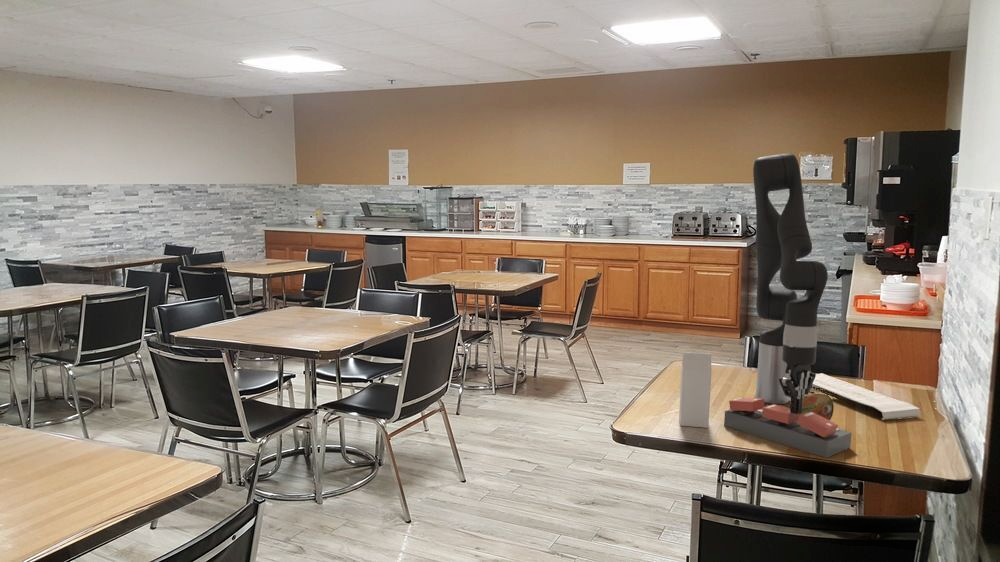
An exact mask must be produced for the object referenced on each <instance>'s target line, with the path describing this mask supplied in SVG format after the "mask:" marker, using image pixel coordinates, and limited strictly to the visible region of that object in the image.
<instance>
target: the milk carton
mask: <svg viewBox="0 0 1000 562" xmlns="http://www.w3.org/2000/svg"><path fill="white" fill-rule="evenodd" d="M682 355H683V356H682V361H681V362H682V363H681V376H680V393H679V394H680V395H679V412H678V413H679V414H678V419H679V425H680V426H682V427H692V428H693V427H694V428H706V429H707V428H709V421H710V404H711V388H712V386H711V385H712V353H705V352H704V353H703V352H689V351H688V352H687V351H683V353H682Z"/></svg>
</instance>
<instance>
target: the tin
mask: <svg viewBox="0 0 1000 562" xmlns="http://www.w3.org/2000/svg"><path fill="white" fill-rule="evenodd" d="M834 407H835V406H834V402H833V400H832V399H831V398H830V397H829V396H828V395H825V394H814V393H811V394H808V395H806V394H805V396H804V398H802V412H801V413H800V414H799V416H800V415H801V414H804V413H807V412H810V411H811V412H813V413H815V414H818V415H820V416H822V417H824V418H826V419H828V420H830V421H831V419H832V417H833V414H834ZM787 408H790V404H788V407H787Z"/></svg>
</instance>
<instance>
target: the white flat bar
mask: <svg viewBox="0 0 1000 562" xmlns="http://www.w3.org/2000/svg"><path fill="white" fill-rule="evenodd" d="M815 374H816V377H815V379H814V381H813V384H812V388H810V392H809V393H811V392H812V391H813V392H814V391H816V392H819V389H817V390H816V388H820V389H821V388H822V389H824V390H827V391H829V392H832V393H834V394H837V395H839V396H841V397H843V398H845V399H848V400H851V401H854V402H855V403H859V404H862V405H865V406H868V407H872V408H873V409H876V410H877V411H879V412H880V413H881V415H882V418H881V419H882V420H881V421H888V420H887V419H893V420H899V419H898V418H905V419H909V418H908V417H916V418H918V417H917V416H919V417H920V416H921V415H922V412H921V408H919V407H918V406H916V405H913V404H912V403H909V402H906V401H903V400H898V399H895V398H892V397H889V396H886V395H884V394H881V393H878V392H875V391H873V390H870V389H867V388H865V387H861V386H859V385H856V384H853V383H851V382H847V381H844V380H841V379H838V378H835V377H833V376H830V375H827V374H825V373H822V372H821V373H815ZM813 387H815V389H814V388H813ZM820 392H821V390H820Z"/></svg>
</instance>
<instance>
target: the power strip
mask: <svg viewBox="0 0 1000 562" xmlns="http://www.w3.org/2000/svg"><path fill="white" fill-rule="evenodd" d="M762 411H763V409H760V410H756V411H740V410H730V409H727V410H724V421H723V426H725V427H728V428H730V429H733V430H735V431H736V430H737V431H739V432H743V433H746V434H750V435H752V436H756V437H759V438H762V439H765V440H768V441H771V442H775V443H778V444H781V445H784V446H787V447H790V448H794V449H797V450H799V451H803V452H807V453H808V454H809V453H810V454H812V455H816V456H818V455H819V457H821V456H822V457H821V458H825V459H827V458H830V456H831V457H833V456H835V454H836V455H838V454H840V453H842V452H841V451H843V452H845V451H847V450H846V449H848V448H850V449H851V441H852V432H851V431H849V430H848V431H847V430H844V429H840V428H838V427H837V429H836V432H835V434H832V435H830V436H827V437H822V436H820V435H818V434H816V433H814V432H812V431H810V430H808V429H806V428H804V427H803V426H801V425H799V424H797V423H798V421H795V422H792V423H789V424H786V423H783V422H779V421H776V420H772V419H768V418H765V417H762ZM844 450H845V451H844ZM848 450H849V449H848ZM839 452H840V453H839ZM837 453H838V454H837ZM832 455H833V456H832Z"/></svg>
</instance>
